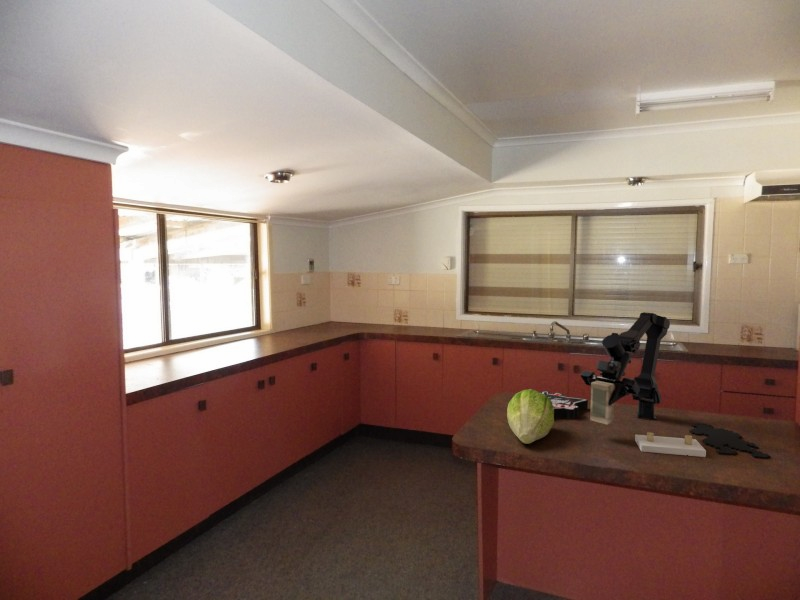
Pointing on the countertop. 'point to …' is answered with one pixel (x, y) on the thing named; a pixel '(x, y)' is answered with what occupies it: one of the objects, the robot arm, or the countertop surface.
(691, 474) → the countertop surface
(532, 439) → the lettuce
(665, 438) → the white peg rack
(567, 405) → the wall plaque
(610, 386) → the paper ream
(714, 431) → the ragged black cutout
